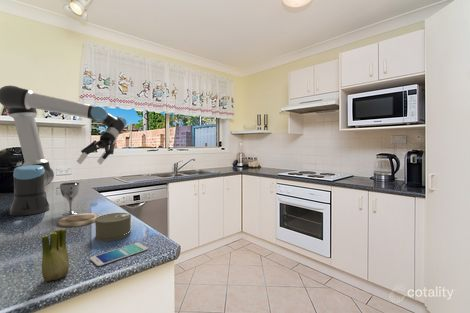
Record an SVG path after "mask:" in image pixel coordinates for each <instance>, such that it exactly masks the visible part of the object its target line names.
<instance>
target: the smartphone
mask: <svg viewBox="0 0 470 313" xmlns="http://www.w3.org/2000/svg"><path fill="white" fill-rule="evenodd" d="M148 250H149V247H147V246H145V245H144V244H141V243H140V242H135V243H132V244H129V245H126V246H121V247H119V248H116V249H113V250H109V251H107V252H103V253H100V254H97V255H94V256H91V257H90V258H89V261H90V262H91V263H92V264H94V265H95V266H96V267H97V268H101V267H104V266H107V265H109V264H113V263H116V262H118V261H121V260H123V259H127V258H130V257H131V256H135V255H138V254H141V253H143V252H146V251H148Z"/></svg>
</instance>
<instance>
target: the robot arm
mask: <svg viewBox="0 0 470 313" xmlns="http://www.w3.org/2000/svg"><path fill="white" fill-rule="evenodd" d="M0 104H1V105H2V106H3V107H5V108H7V113H8V116H9V117H10V118H13V121H14V125H15V130H16V134H17V137H18V140H19V145H20V149H21V151H22V152H21V153H22V155H23V156H22V157H23V159H24V160H23V161H24V162H23V164H22V165H20V166H17V167H15V168H14V169H13V175H12V176H13V195H14V198H13V201H12V203H11V207H10V208H9V215H10V216H12V217H13V216H16V217H17V216H20V217H21V216H30V215H37V214H42V213H44V212H47V211H49V210H50V204H49V202H48V199H47V196H46V195H45V194H46V193H45V192H46V191H45V189H46V188H45V187H46V186H48V185H50V184H51V182H52V181H54V180H53V179H54V178H55V172H54V170H53V169H52V167H51V165H50V162H49V161H48V160H47V159H46V158H45V155H44V151H43V147H42V142H41V139H40V135H39V130H38V126H37V122H36V119H35V117H36V116H37V115H38V110H42V111H46V112H53V113H57V114H63V115H67V116H68V115H69V116H73V117H77V118H78V117H79V118H83V119H90V120H94V121H97V122H98V123H100V124H101V125H104V126H106V129H105V130H104V131H103V132H102V134H101V135H100V136H99V140H98V141H97V140H93V141H92V142H91V143H90V144H88V145H87V146H86V147H85V148H82V150H80V152H81V155H79V158H77V160H76V162H77V163H78V164H79V165H81V164H82V163H83V162H84V161H85V160H86V158H88V155H89V154H91V153H93V152H94V151H97V150H100V149H104V151H103V153H102V154H101V155H100V157H99V158H98V159H97V161H96V162H97V163H98V164H99V165H102V164H103V163H104V162H105V161H106V159H107V158H108V157H109V156H110V155H114V152H115V151H114V150H115V145H116V142H115V141H116V139H118V137H119V135H120V134H122V132H123V131H124V129H125V127H126V126H127V124H128V122H127V120H126V118H124V117H123V116H120V115H119V116H118V115H117V116H116V117H115V116H114V115H112V114H110V113H108V111H107V109H105V107H103V106H100V105H91V104H87V103H83V102H77V101H73V100H68V99H63V98H59V97H54V96H49V95H46V94H45V95H44V94H39V93H35V92H33V91H32V90H30V89H26V88H22V87H19V86H16V85H5V86H3V87H0Z"/></svg>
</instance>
